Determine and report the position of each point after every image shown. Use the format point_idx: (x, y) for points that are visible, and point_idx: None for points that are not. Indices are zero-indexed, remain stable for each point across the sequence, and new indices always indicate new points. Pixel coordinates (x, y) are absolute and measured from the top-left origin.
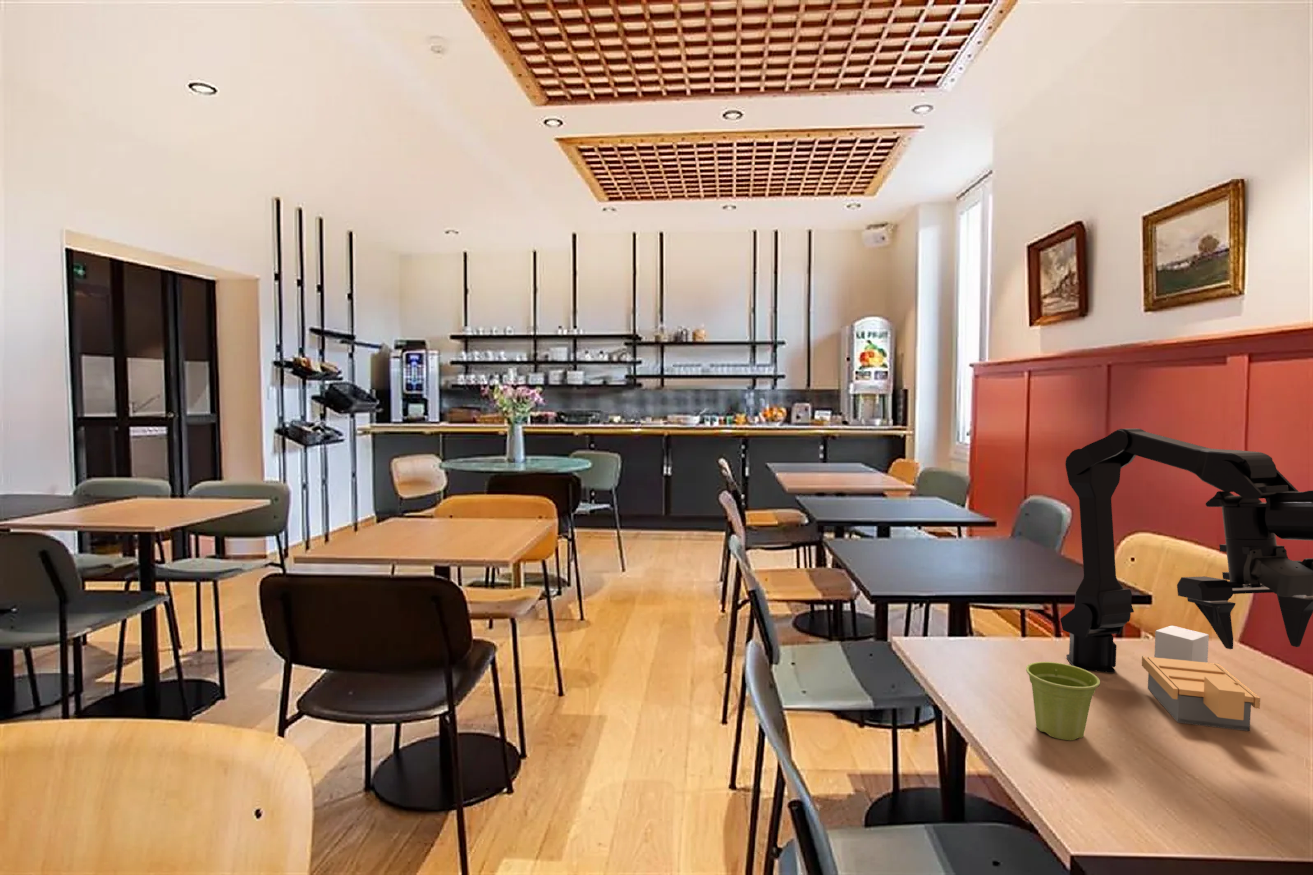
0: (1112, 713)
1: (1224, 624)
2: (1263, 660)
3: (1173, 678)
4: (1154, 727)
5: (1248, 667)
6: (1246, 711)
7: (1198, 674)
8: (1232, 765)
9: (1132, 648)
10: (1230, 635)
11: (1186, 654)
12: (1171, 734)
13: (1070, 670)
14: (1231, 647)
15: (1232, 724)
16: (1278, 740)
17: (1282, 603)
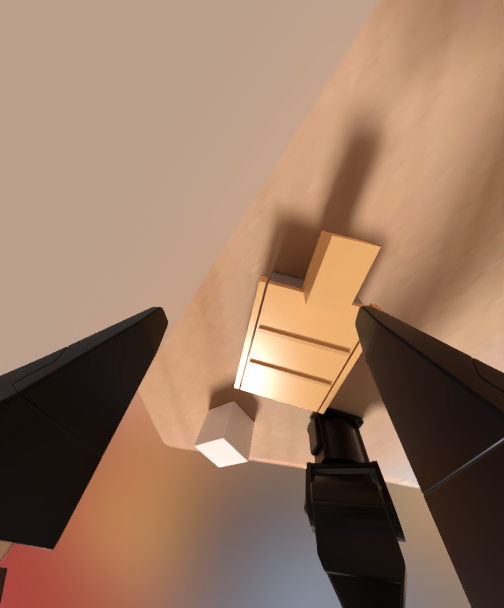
0: (427, 316)
1: (493, 370)
2: (152, 414)
3: (344, 349)
4: (402, 276)
5: (172, 404)
6: (275, 280)
7: (290, 360)
8: (392, 148)
9: (254, 445)
10: (404, 329)
11: (232, 421)
12: (396, 255)
13: None
14: (370, 307)
15: (291, 278)
16: (253, 248)
17: (72, 482)
